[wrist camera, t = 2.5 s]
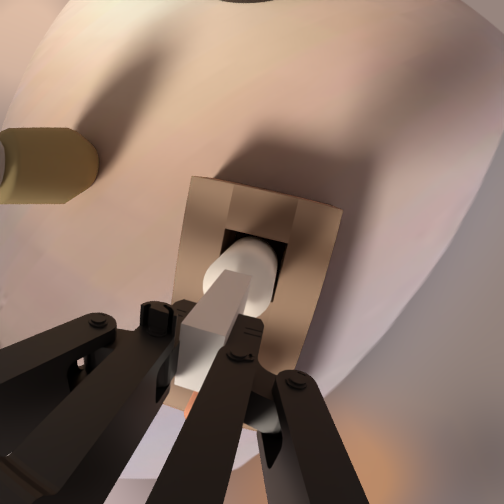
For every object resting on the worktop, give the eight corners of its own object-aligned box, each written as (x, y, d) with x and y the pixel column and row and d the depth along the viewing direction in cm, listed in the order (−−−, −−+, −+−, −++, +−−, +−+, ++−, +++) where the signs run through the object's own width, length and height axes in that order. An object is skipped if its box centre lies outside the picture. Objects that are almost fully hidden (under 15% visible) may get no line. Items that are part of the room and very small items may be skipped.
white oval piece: (231, 231, 22) (209, 247, 16) (283, 243, 22) (280, 264, 16) (221, 280, 23) (198, 311, 17) (270, 293, 23) (263, 328, 17)
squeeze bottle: (77, 120, 27) (-51, 100, 9) (120, 152, 27) (-28, 139, 9) (49, 179, 29) (-73, 191, 11) (87, 215, 29) (-49, 248, 11)
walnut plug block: (213, 178, 26) (191, 175, 20) (331, 205, 25) (343, 210, 20) (181, 372, 31) (162, 403, 26) (273, 397, 31) (268, 433, 25)
